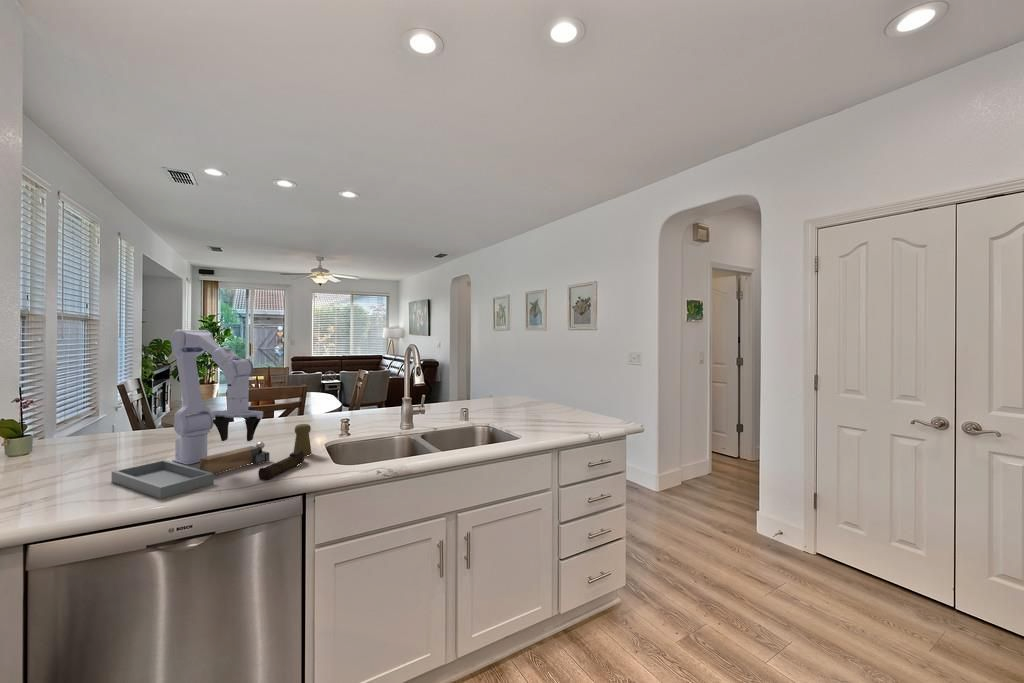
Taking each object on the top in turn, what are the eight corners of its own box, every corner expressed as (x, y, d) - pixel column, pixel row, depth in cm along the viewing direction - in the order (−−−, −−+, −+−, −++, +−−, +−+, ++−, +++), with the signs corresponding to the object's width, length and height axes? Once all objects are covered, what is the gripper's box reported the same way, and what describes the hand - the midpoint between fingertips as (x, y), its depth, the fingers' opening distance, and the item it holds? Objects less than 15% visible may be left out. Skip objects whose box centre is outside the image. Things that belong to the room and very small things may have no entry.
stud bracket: (241, 461, 144) (241, 442, 143) (256, 457, 148) (256, 439, 148) (256, 464, 140) (256, 446, 140) (271, 460, 145) (271, 442, 145)
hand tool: (269, 481, 126) (269, 466, 126) (257, 480, 127) (257, 464, 127) (311, 462, 144) (311, 449, 144) (300, 461, 145) (300, 448, 145)
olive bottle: (297, 452, 155) (297, 422, 155) (314, 452, 156) (314, 422, 155) (289, 457, 149) (290, 426, 149) (307, 457, 149) (308, 426, 149)
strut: (200, 474, 130) (200, 458, 130) (251, 460, 145) (251, 445, 145) (207, 476, 129) (207, 459, 128) (258, 462, 143) (259, 447, 143)
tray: (111, 481, 122) (111, 471, 122) (164, 469, 134) (164, 459, 134) (160, 499, 111) (160, 487, 111) (213, 483, 123) (213, 473, 123)
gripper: (205, 399, 129) (204, 443, 130) (255, 400, 131) (254, 443, 131) (219, 395, 136) (218, 437, 137) (266, 396, 138) (265, 438, 138)
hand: (237, 440), depth 134 cm, fingers open, 7 cm apart
